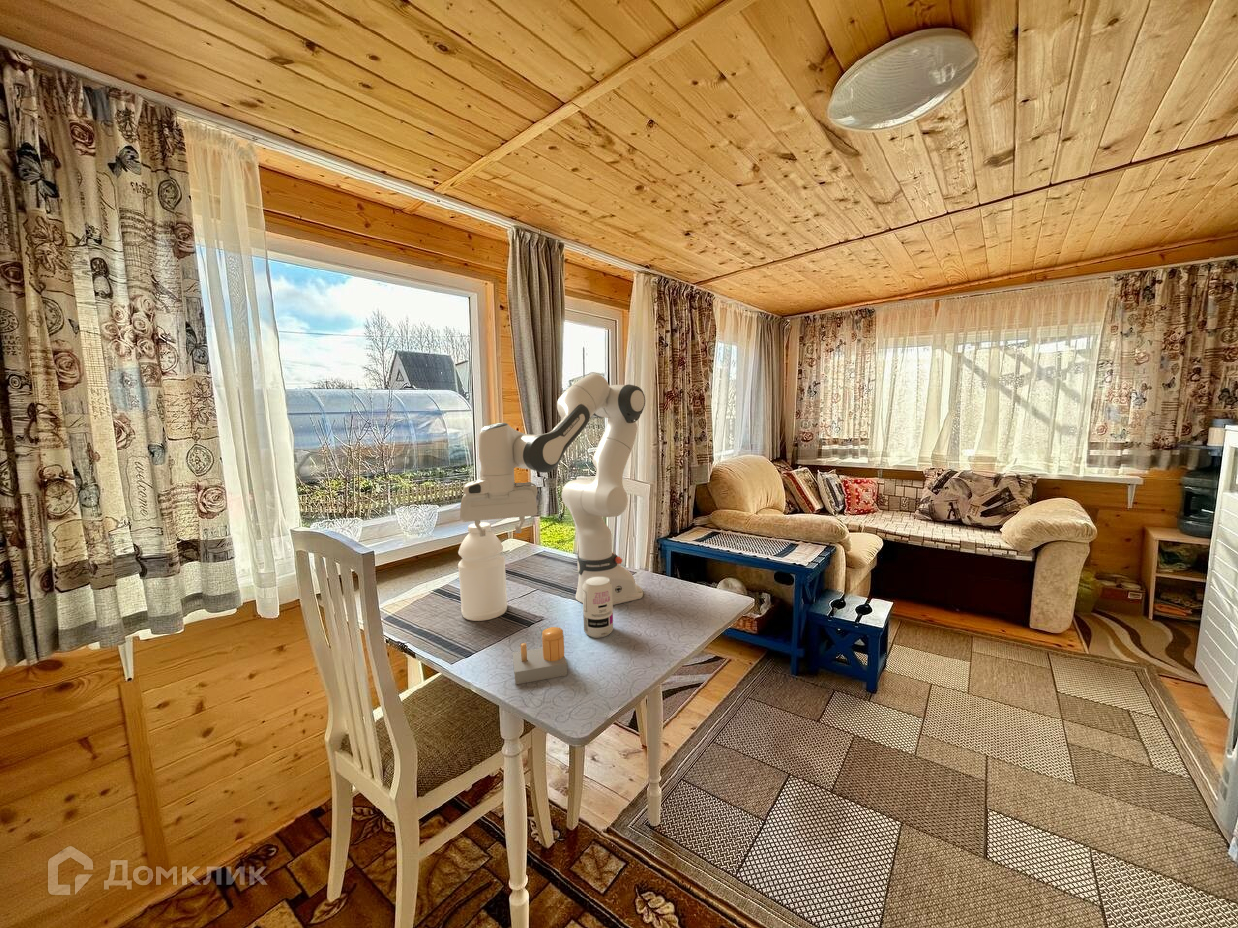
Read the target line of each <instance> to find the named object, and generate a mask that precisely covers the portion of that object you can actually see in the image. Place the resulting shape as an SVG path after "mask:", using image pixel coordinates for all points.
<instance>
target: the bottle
mask: <svg viewBox="0 0 1238 928" xmlns="http://www.w3.org/2000/svg"><path fill="white" fill-rule="evenodd" d="M479 525H480V526H481V528H482V529H485V533H486V536H482V537H480V531H479V530H478V528H477V527H476V526H475V522H473V523H471V524H469V525H468V526H467V531H468V534H467V535H465V537H464V539H463V540H462V542H461V544H460V546H459V547H458V548H459V549H458V551H457V553H458V555H459V557H461V560H460V561H459V562H458V564H457V567H458V568H457V569H458V578H459V581H458V582H459V594H460V595H459V596H460V606H461V607H460V612H461V615H462V617H463V618H464V619H466V620H468V621H475V622H477V621H478V622H480V621H488V620H489V621H490V620H493V619H495V618H498V617H500V616H502V615H504V614H505V613H506V612H507V610H508V604H509V603H508V598H507V597H508V595H507V578H506V576H507V575H506V559H505V557H504V556H503V555H501V553H502V552H503V551H504V546H503V543H502V541H501V540H500V538H499V537H497V535H496V534H495V533H494V532H492V531H491V530H492V526H491V523H490V522H486V521H485V522H484V521H480V524H479Z"/></svg>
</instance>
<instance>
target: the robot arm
mask: <svg viewBox="0 0 1238 928" xmlns="http://www.w3.org/2000/svg"><path fill="white" fill-rule="evenodd" d="M645 406H646V395H645V394H644V391H643V390H642V388H641V387H639V386H638V385H635V384H611V385H609V382H608V381H607V379H606V378H605V377H603V376H602V375H600V374H597V373H592V374H588V375H586V376H584V377H582V378H580V379H579V380H577V381H575V383H573V384H572V385H571V386H569V387H568V388H567V389H566V390H564V392H563V393H562V394H561V395H560V396H559V397H558V399H557V402H556V408H557V412H558V415H559V416H560V418H561V420H560V421H559V422H558V423H557V425H555V427H554V428H553V429H552V430H551V431H549V432H547V433H540V434H528V433H524V432H522V431H518V430H516V429H514V427H511V426H510V425H509V423H506V422H497V423H490V424H488V425H487V424H486V425H485V426H483V427H482V428H481V429H480V431H479V435H478V459H479V462H480V470H479V471H480V472H479V476H480V477H479V478H478V479H475V480H472V481H469V482H467V483H465V484H464V485H463V489H462V490H463V493H464V494H462V497H461V500H460V508H459V517H460V518H459V519H460V520H461V521H462V522H464V523H466V522H474V523H475V526H476V527H477V528H478V530H479V531H480V537H482V536H486V533H485V529H482V528H481V526H480V525H479V524H480V522H481V521H488V520H499V519H512V518H518V520H519V523H518V525H515V527H514V528H515V534H521V533H522V527H523V525H524V523H525V521H526V518H525V517H534V516H536V515H537V514H538V502H537V499H536V498H537V496H538V486H537V485H536V484H535V483H532V482H531V481H528V482H527V481H526V482H515V469H516V468H518V469H523V470H531V471H534V472H535V471H536V472H538V473H542V474H543V473H550V472H552V471H554V470H555V469H556V468H557V467H558V465H559V464H560V462H561V460H562V459H563V456H564V454H565V452H566V451H567V450H568V448H569V447H570V446H571V444H572V443H574V441H575V440H576V439H577V438H578V436H579V435H580V434H581V433H582V431H583V430H584V429H585V428H586V426H588V424H589V422H590V419H591V418H592V416H593V417H596V418H600V419H602V418H606V419H607V426H606V428H605V430H604V432H603V434H602V436H601V437H600V438H601V439H600V440H599V442H598V444H597V447H596V449H595V452H594V453H593V456H592V464H593V466H594V467H595V469H596V471H595V472H596V473H595V476H594V479H593V480H591V479H584V478H580V479H573V480H570V481H568V482H566V483H565V485H564V486H563V487H562V490H561V500H562V502H563V505H564V506H565V507H566V508H567V509H568V511H569V512H570V513H569V514H570V515H571V517H572V519H573V523H574V525H575V529H576V534H577V547H578V548H577V549H578V555H577V559H576V561H577V562H576V563H577V566H576V567H577V572H578V579H577V582H578V583H577V589H576V593H575V599H576V601H578V602H579V603H582V604H583V590H582V586H583V584H584V581H585V579H587V578H589V577H592V576H604V577H607V578H609V580H610V582H611V584H612V603H613V606H615V605H618V604H624V603H627V602H631V601H636V600H640V599H642V598H643V596H644V592H643V589H642V587H641V586H640V585H639V584H637V583H636V579H635V577H634V575H633V574H632V572H630V571H629V570H628V569H627V568H625V567H624V566H622V565H621V564H622V563H623V559H622V558H621V557H620V556H618V554H615V553H614V552H613V543H612V542H613V537H612V530H611V529H610V528H609V526H608V525H607V524H606V523H605V521H604V519H603V518H614V517H615V518H616V517H619V516H621V515H623V513H624V512H625V511H626V508H627V507H628V495H627V492H626V490H625V488H624V485H623V484H624V483H623V475H624V471H625V467H626V465H627V462H628V460H629V457H630V454H631V453H632V449H633V447H634V444H635V441H636V436H637V431H638V426H637V425H638V424H637V423H636V422H637V421H638V420H639V419H640V417H641V415H642V413H643V412H644V409H645Z"/></svg>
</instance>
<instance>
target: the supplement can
mask: <svg viewBox="0 0 1238 928" xmlns="http://www.w3.org/2000/svg"><path fill="white" fill-rule="evenodd" d="M582 590H583V603H582V610H583V612H582V614H583V630H584V633H585V634H586V635H587V636H589V637H591V638H595V639H596V638H597V639H598V638H604V637H608V636H609V635H610V634H611V633H612V632H613V630H614V609H613V608H614V607H613V606H614V605H613V603H612V584H611V582H610V580H609V578H607V577H604V576H592V577H589V578H587V579H585V581H584V584H583V586H582Z"/></svg>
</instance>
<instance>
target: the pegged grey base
mask: <svg viewBox="0 0 1238 928" xmlns="http://www.w3.org/2000/svg"><path fill="white" fill-rule="evenodd" d="M519 646H520V650H519V651H513V652H512V662H513V674H514V685H520V684H526V683H531V682H536V681H542V680H547V679H553V678H560V677H564V676H568V666H567V665H568V664H567V659H566V657H565V655H564V657H562V658H561V659H560V660H556V661H548V660H544V658H543V647H539V648H532V649H528V648H527V643H526V642H523V643H521V644H520V645H519Z"/></svg>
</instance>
